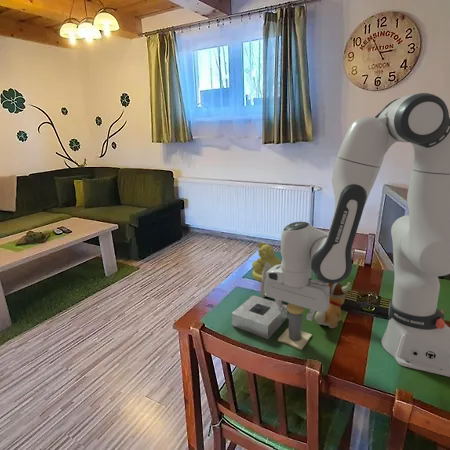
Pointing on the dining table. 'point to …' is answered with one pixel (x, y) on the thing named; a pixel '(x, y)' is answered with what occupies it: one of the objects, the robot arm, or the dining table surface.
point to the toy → (333, 305)
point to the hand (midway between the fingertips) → (295, 315)
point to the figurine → (264, 260)
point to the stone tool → (264, 278)
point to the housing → (259, 316)
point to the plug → (295, 321)
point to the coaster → (297, 344)
